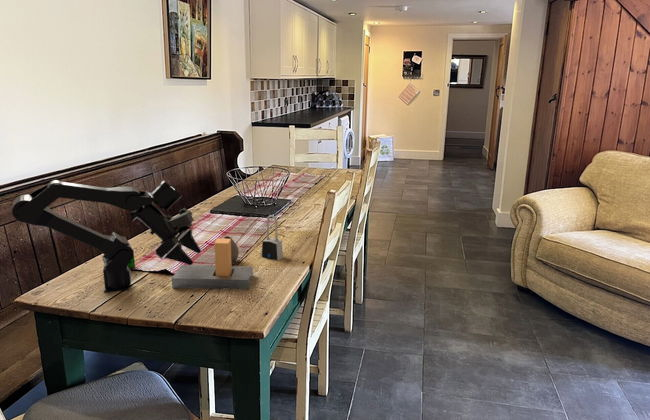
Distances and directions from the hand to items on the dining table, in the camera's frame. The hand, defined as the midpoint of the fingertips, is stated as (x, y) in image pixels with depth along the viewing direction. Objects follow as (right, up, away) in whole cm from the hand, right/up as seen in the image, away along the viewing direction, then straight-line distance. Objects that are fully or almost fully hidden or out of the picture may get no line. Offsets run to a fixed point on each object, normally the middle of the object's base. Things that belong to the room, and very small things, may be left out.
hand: (196, 257), depth 142 cm
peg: (+8, -7, +2) cm, 11 cm away
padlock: (+20, -2, +22) cm, 30 cm away
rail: (+5, -7, +2) cm, 9 cm away
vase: (+6, -3, +17) cm, 18 cm away
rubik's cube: (-27, -4, +11) cm, 29 cm away
